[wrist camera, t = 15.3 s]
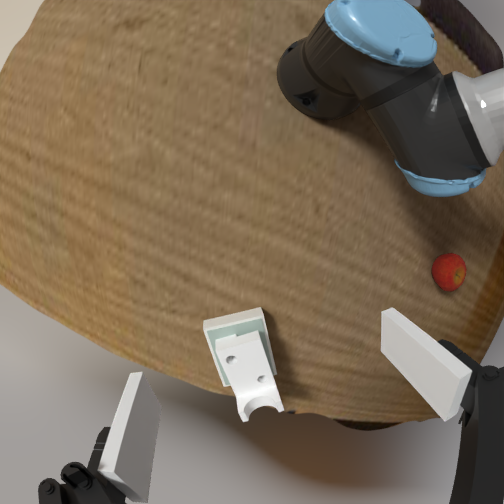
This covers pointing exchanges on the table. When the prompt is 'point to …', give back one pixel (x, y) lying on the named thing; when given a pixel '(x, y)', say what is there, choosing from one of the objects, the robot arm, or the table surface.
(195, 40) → the table surface
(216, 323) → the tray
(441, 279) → the apple
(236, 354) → the bracket
